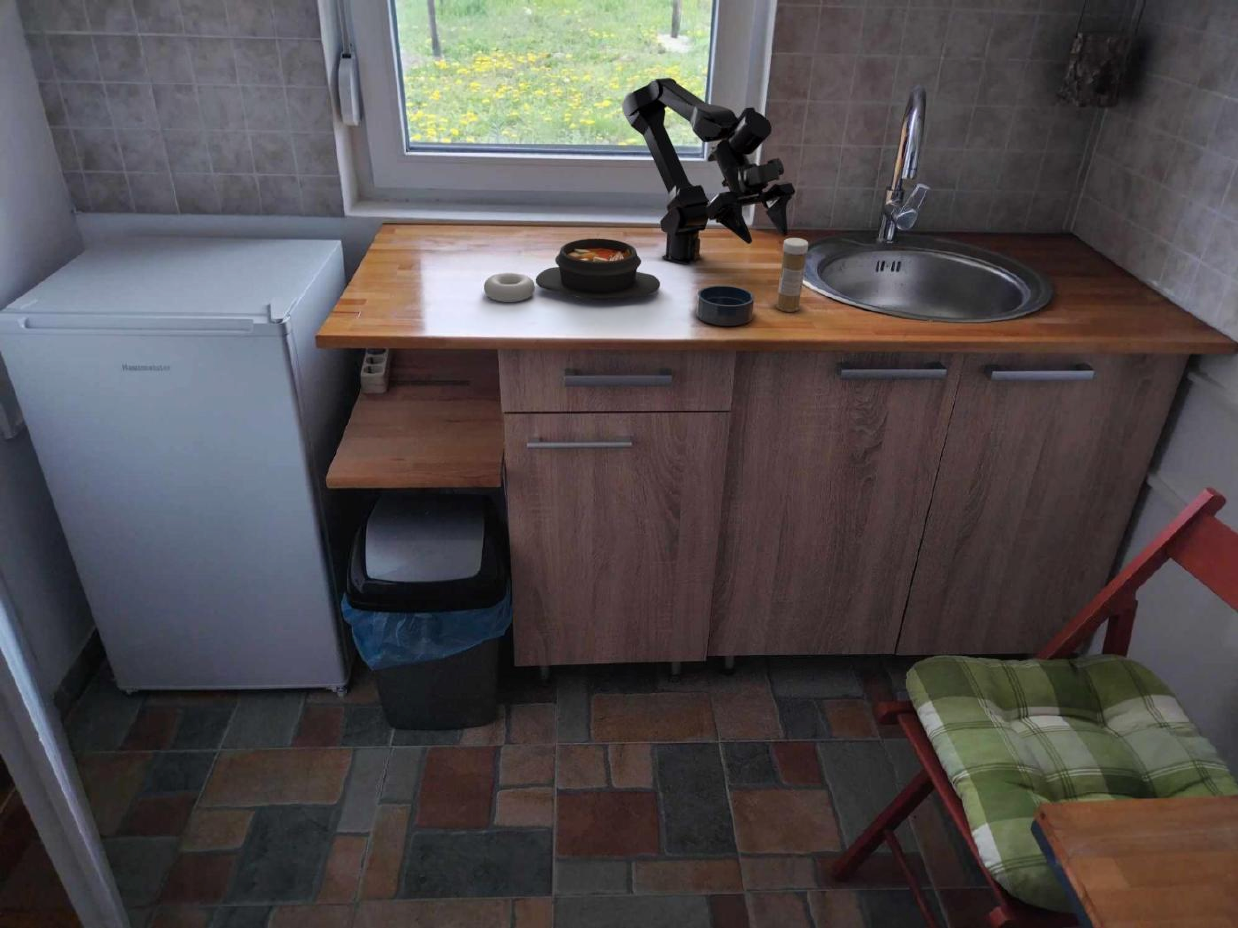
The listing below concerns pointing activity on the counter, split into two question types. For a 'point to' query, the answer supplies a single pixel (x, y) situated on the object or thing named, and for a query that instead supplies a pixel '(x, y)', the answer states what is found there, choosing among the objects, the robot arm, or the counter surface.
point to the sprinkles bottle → (792, 274)
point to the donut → (509, 287)
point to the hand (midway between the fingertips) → (768, 239)
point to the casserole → (598, 271)
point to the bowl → (725, 305)
